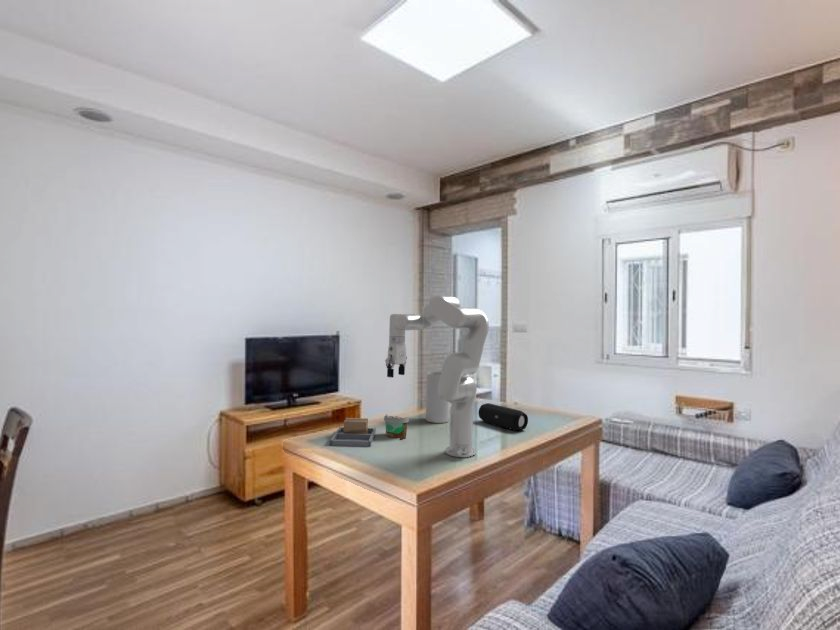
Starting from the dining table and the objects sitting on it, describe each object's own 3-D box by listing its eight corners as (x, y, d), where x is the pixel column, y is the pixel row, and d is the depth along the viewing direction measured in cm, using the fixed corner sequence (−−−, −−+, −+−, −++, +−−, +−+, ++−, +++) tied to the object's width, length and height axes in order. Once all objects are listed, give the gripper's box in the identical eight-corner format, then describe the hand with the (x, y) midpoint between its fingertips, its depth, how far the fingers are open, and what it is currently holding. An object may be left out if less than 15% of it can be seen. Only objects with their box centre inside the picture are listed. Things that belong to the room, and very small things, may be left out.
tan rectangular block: (365, 437, 201) (366, 421, 201) (343, 436, 201) (343, 421, 201) (367, 433, 207) (368, 418, 207) (345, 433, 207) (346, 417, 207)
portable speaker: (477, 422, 238) (477, 403, 238) (489, 419, 244) (489, 401, 244) (516, 433, 219) (517, 413, 219) (528, 430, 225) (529, 410, 225)
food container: (378, 438, 204) (378, 416, 204) (385, 434, 210) (385, 413, 209) (401, 442, 198) (402, 420, 198) (408, 439, 204) (409, 417, 204)
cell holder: (370, 448, 189) (370, 441, 189) (329, 447, 189) (329, 440, 189) (375, 434, 210) (375, 428, 210) (339, 433, 210) (339, 427, 210)
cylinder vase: (449, 424, 233) (451, 375, 232) (425, 423, 233) (427, 374, 232) (448, 418, 245) (450, 372, 245) (425, 417, 245) (426, 371, 245)
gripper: (393, 341, 205) (392, 379, 205) (413, 339, 220) (412, 374, 220) (380, 340, 209) (379, 377, 209) (400, 338, 224) (399, 373, 224)
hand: (395, 375), depth 215 cm, fingers open, 9 cm apart
